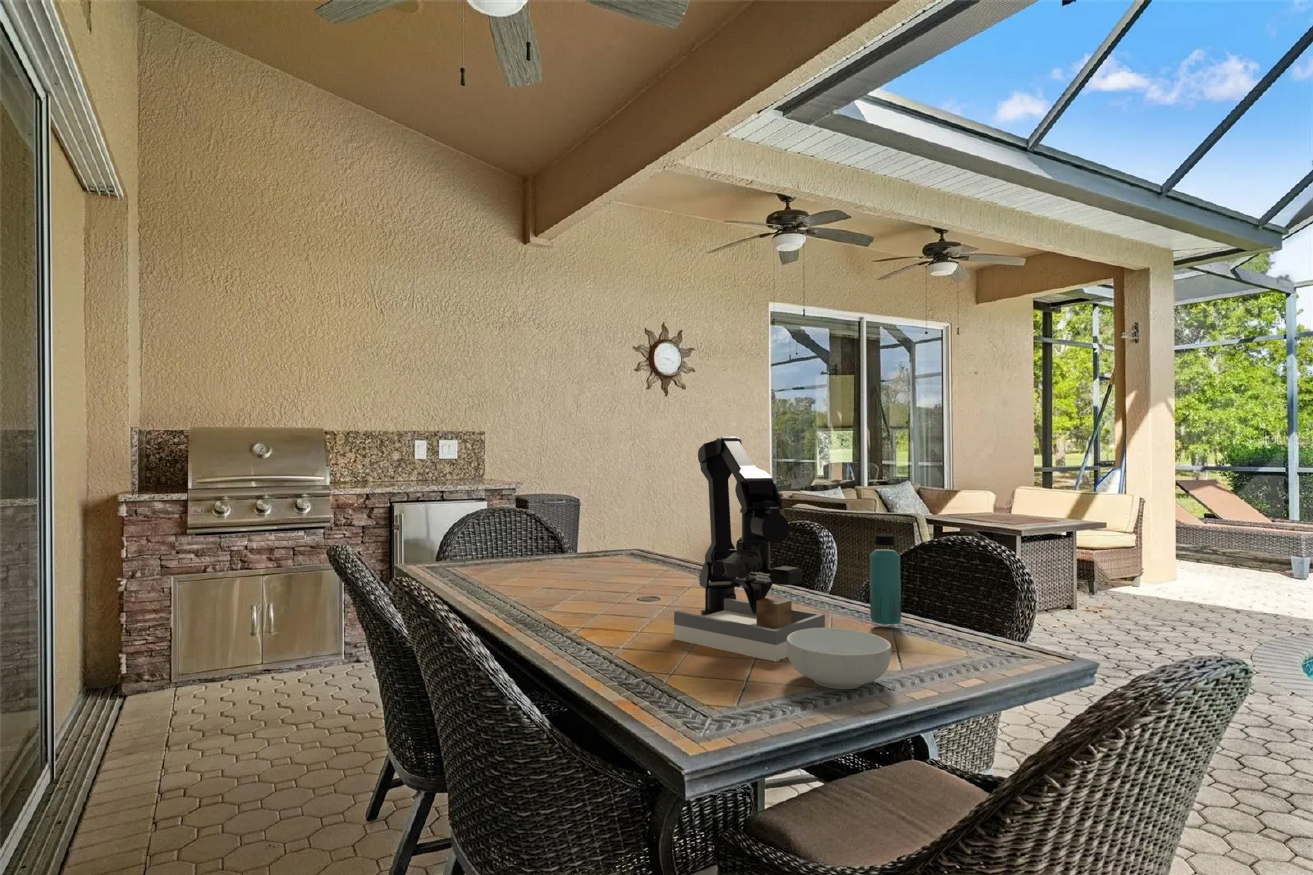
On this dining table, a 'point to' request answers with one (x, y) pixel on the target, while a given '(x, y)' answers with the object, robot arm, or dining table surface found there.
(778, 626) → the walnut block
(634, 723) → the dining table surface
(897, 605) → the beverage bottle
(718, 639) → the trap box
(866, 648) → the cereal bowl
